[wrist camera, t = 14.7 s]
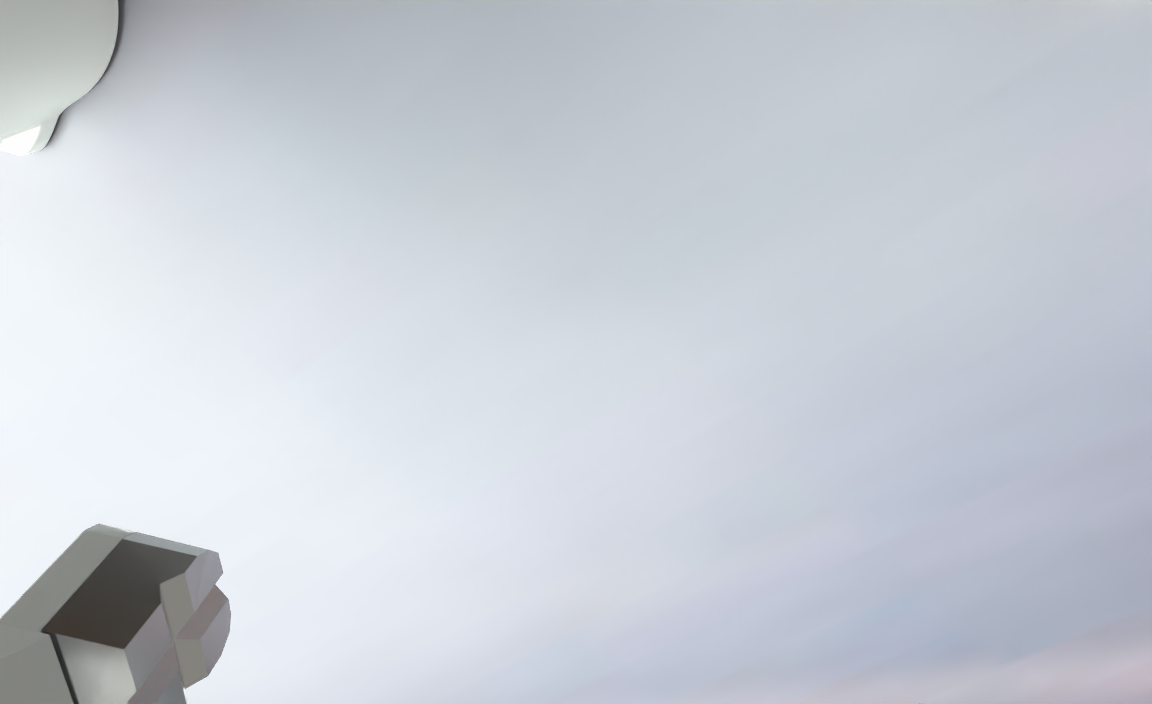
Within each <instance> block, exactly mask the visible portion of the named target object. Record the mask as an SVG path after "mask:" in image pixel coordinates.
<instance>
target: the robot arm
mask: <svg viewBox="0 0 1152 704" xmlns="http://www.w3.org/2000/svg"><path fill="white" fill-rule="evenodd" d="M117 30H118V0H0V150H1V151H4V152H7V153H10V154H13V155H17V156H25V155H29V154H32V153H34V152H37V151H40V150H41V149H43V148H44V147H45V146H46V144H47V143H48V141H49V139H50V137H51V135H52V132H53V130H54V127H55V125H56V122H57V119H58V117H59V115H60V114H61V113H62V112H63V111H64V110H65V109H66V108H67V107H68V106H70V105H71V104H73V103H74V102H76V101H77V100H79V99H80V98H81V97H83V96H84V95H85V94H87V93H88V92H89V91H90V90H91V89H92V88H93V87H94V86H95V85H96V83H97V82H98V81H99V80H100V78H101V77H102V75H103V73H104V72H105V70H106V68H107V66H108V64H109V62H110V59H111V56H112V54H113V50H114V46H115V42H116V37H117ZM222 574H223V570H222V566H221V562H220V558H219V554H218V553H217V552H214V551H210V550H207V549H203V548H199V547H195V546H191V545H187V544H183V543H179V542H175V541H171V540H167V539H163V538H158V537H154V536H150V535H146V534H142V533H138V532H133V531H129V530H124V529H120V528H116V527H112V526H107V525H103V524H97V525H95V526H93V527H90V528H88V529H86V530H85V531H83V532H82V533H81V534H80V535H79V536H78V537H77V538H76V540H75V541H74V542H73V543H72V544H71V545H70V546H69V547H68V548H67V549H66V550H65V551H64V552H63V553H62V554H61V555H60V556H59V557H58V558H57V559H56V560H55V562H54V563H53V564H52V565H51V566H50V567H49V568H48V569H47V570H46V571H45V572H44V573H43V574H42V575H41V576H40V577H39V578H38V579H37V580H36V581H35V582H34V583H33V585H32V586H31V587H30V588H29V589H28V590H27V591H26V592H25V593H24V594H23V595H22V596H21V597H20V598H19V599H18V600H17V601H16V602H15V603H14V604H13V605H12V606H11V608H10V609H9V610H8V611H7V612H6V613H5V614H4V615H3V616H2V617H1V618H0V704H187V699H186V688H187V687H189V686H191V685H193V684H195V683H196V682H198V681H200V680H202V679H203V678H205V677H207V676H208V675H209V674H210V672H211V670H212V669H213V667H214V666H215V664H216V663H217V661H218V659H219V658H220V656H221V654H222V651H223V648H224V646H225V643H226V640H227V637H228V634H229V631H230V619H231V611H230V606H229V600H228V598H227V597H226V596H225V595H224V594H223V593H222V592H221V590H220V589H219V588H218V587H217V586H216V585H215V583H216V582H217V581H218V579H219V578H220V577H221V575H222ZM918 704H923V703H918Z"/></svg>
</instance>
